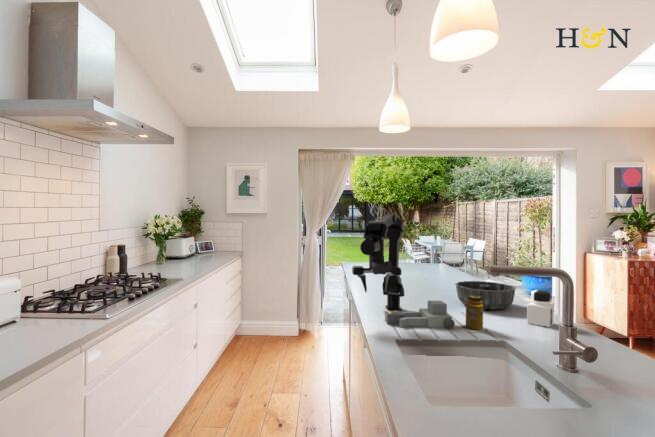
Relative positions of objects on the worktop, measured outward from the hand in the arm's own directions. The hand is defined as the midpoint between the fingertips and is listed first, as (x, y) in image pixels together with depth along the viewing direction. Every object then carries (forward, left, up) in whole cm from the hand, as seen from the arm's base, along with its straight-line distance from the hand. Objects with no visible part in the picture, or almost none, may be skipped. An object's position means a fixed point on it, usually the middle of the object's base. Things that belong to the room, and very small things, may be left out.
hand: (376, 292), depth 137 cm
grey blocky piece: (0, +18, -12) cm, 22 cm away
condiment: (+7, +36, -12) cm, 38 cm away
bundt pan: (-27, +57, -12) cm, 64 cm away
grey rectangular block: (0, +8, -12) cm, 14 cm away
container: (+1, +66, -12) cm, 67 cm away
